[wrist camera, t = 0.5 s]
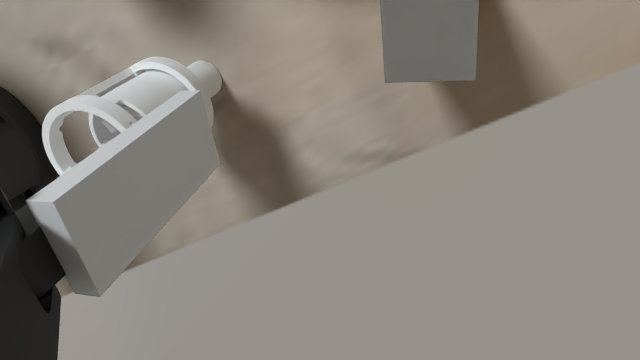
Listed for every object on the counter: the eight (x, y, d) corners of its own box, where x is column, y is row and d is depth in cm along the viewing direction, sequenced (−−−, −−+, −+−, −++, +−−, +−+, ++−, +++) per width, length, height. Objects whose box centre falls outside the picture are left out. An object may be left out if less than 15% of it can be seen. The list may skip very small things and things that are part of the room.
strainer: (151, 69, 40) (8, 152, 28) (199, 16, 36) (59, 85, 24) (209, 132, 42) (99, 235, 30) (261, 87, 38) (159, 185, 26)
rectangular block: (407, 32, 33) (384, 82, 25) (405, -38, 30) (379, -9, 22) (475, 28, 31) (475, 80, 23) (478, -46, 29) (479, -18, 21)
